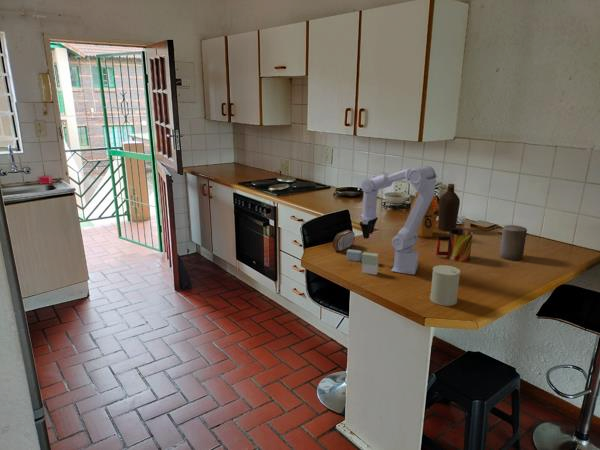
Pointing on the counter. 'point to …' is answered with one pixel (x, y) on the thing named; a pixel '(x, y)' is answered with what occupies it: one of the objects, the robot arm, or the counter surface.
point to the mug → (457, 245)
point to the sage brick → (370, 258)
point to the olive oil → (448, 210)
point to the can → (445, 285)
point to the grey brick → (370, 269)
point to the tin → (343, 240)
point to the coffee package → (425, 221)
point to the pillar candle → (513, 242)
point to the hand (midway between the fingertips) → (368, 235)
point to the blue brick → (353, 255)
